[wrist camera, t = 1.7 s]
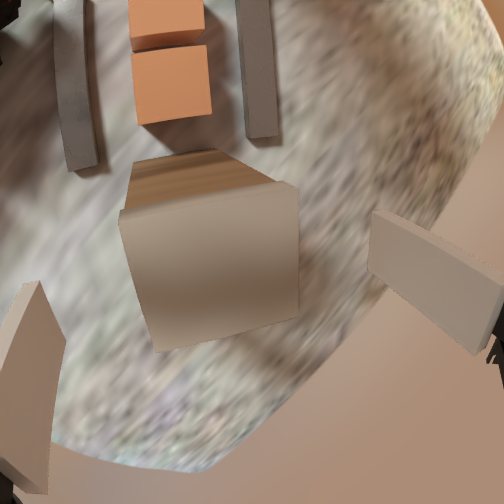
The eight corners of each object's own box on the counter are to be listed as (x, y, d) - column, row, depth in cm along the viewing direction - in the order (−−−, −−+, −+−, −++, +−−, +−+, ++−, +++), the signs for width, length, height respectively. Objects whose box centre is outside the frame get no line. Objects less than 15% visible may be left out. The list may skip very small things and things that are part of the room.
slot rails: (57, 4, 12) (53, -1, 12) (261, -19, 16) (266, -24, 15) (71, 169, 18) (68, 172, 17) (273, 134, 21) (278, 135, 21)
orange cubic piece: (133, 65, 17) (131, 54, 13) (194, 56, 18) (206, 44, 14) (139, 123, 18) (138, 125, 15) (199, 113, 19) (212, 113, 16)
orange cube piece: (130, -1, 14) (128, -23, 11) (190, -8, 15) (201, -30, 12) (132, 51, 16) (129, 37, 13) (193, 43, 17) (205, 28, 14)
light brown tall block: (131, 161, 19) (117, 222, 9) (215, 146, 21) (298, 188, 10) (145, 233, 21) (156, 353, 11) (223, 218, 23) (298, 316, 13)
